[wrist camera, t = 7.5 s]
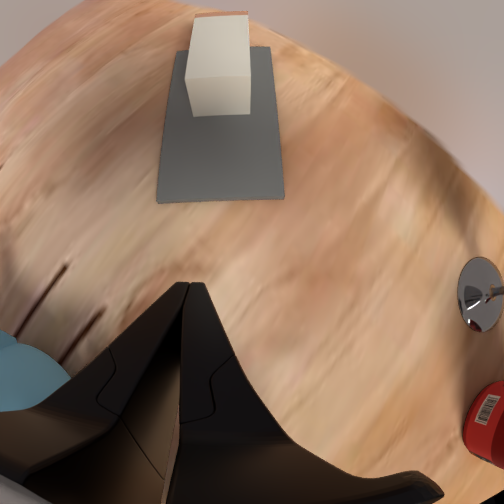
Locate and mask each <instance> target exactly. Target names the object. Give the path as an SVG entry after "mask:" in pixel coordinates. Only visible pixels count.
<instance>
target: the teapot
mask: <svg viewBox="0 0 504 504" xmlns="http://www.w3.org/2000/svg"><path fill="white" fill-rule="evenodd" d="M70 379H71V377H70V376H69V375H68V373H67V372H66V371H65V370H64V369H63V368H62V367H61V366H60V365H59V364H58V363H57V362H56V361H55V360H54V359H52V358H51V357H50V356H49V355H47V354H45V353H44V352H42V351H41V350H39V349H37V348H34V347H32V346H30V345H26V344H20V343H17V340H16V338H15V337H13V336H11V335H9V334H7V333H6V332H4V331H2V330H0V412H3V411H14V410H22V409H27V408H30V407H33V406H35V405H37V404H38V403H40V402H41V401H43V400H44V399H46V398H47V397H48V396H49V395H51V394H52V393H53V392H54V391H56V390H57V389H58V388H60V387H61V386H62V385H63V384H65V383H66V382H67V381H68V380H70Z"/></svg>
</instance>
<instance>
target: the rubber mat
mask: <svg viewBox="0 0 504 504" xmlns="http://www.w3.org/2000/svg"><path fill="white" fill-rule="evenodd" d="M188 54H189V50H185V51H177V53H176V58H175V64H174V69H173V74H172V80H171V86H170V92H169V98H168V104H167V111H166V118H165V125H164V132H163V140H162V148H161V157H160V167H159V177H158V188H157V200H156V201H157V203H158V204H162V203H180V202H201V201H227V200H267V199H284V197H285V195H284V182H283V170H282V158H281V146H280V135H279V124H278V114H277V104H276V94H275V85H274V76H273V67H272V58H271V50H270V47H250V67H251V96H250V114H241V115H215V116H199V117H193V113H192V109H191V104H190V100H189V96H188V92H187V87H186V83H185V73H186V67H187V60H188Z"/></svg>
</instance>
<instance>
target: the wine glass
mask: <svg viewBox="0 0 504 504" xmlns="http://www.w3.org/2000/svg"><path fill="white" fill-rule="evenodd" d="M457 295H458V304H459V309H460V312H461V315H462V317H463V319H464V321H465V322H466V324H467V325H468V326H469V327H470V328H471V329H473V330H474V331H477V332H486V331H488V330H490V329H492V328H493V327H494V326H495V325H496V324H497V323H498V321H499V319H500V318H501V315H502V313H503V309H504V282H503V279H502V276H501V274H500V272H499V270H498V268H497V267H496V266H495V265H494V263H492V262H491V261H490V260H488V259H486V258H482V257H477V258H474V259H472V260H471V261H469V262H468V263H467V264H466V265H465V267H464V268H463V270H462V273H461V275H460V278H459V283H458V294H457Z"/></svg>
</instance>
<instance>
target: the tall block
mask: <svg viewBox="0 0 504 504" xmlns="http://www.w3.org/2000/svg"><path fill="white" fill-rule="evenodd" d="M185 83H186V87H187V92H188V96H189V100H190V104H191V109H192V113H193V117H199V116H215V115H241V114H250V96H251V67H250V46H249V25H248V11H233V12H213V13H201V14H195V20H194V25H193V30H192V36H191V42H190V48H189V54H188V60H187V67H186V73H185Z"/></svg>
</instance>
